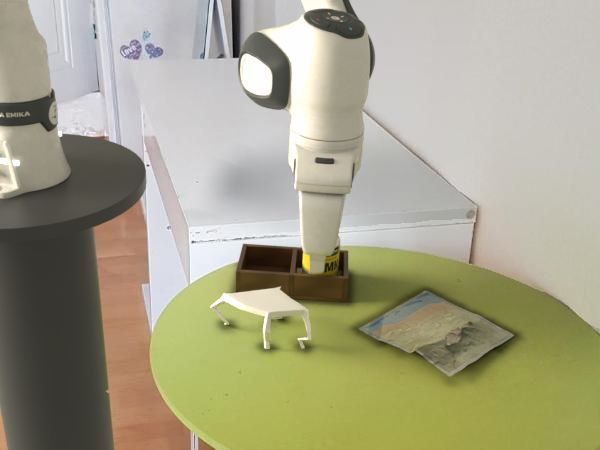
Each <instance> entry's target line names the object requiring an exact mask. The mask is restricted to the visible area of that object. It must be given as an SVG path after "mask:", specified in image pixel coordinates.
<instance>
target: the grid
mask: <svg viewBox="0 0 600 450" xmlns="http://www.w3.org/2000/svg"><path fill="white" fill-rule="evenodd" d="M302 262H303V250H302V246H301V247H299V246H288V245H287V246H285V245H270V244H269V245H268V244H256V243H255V244H254V243H242V246H241V250H240V253H239V258H238V262H237V265H236V270H235V293H238V292H246V291H255V290H263V289H271V288H277V287H281V288H280V290H281V291H282V292H284V293H285V294H286V295H287V296H289V297H290V298H291V299H293V300H306V301H307V300H308V301H320V302H321V301H322V302H337V303H338V302H339V303H347V302H348V301H347V300H348V291H349V250H347V249H346V250H345V249H340V253H339V264H338V276H331V275H316V274H302Z"/></svg>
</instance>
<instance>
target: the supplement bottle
mask: <svg viewBox="0 0 600 450" xmlns="http://www.w3.org/2000/svg"><path fill="white" fill-rule="evenodd" d="M339 233H340V231H339V232H338V237H337V242H336V246H335V249H334V252H333V254H332V255H331V256H326V258H325V265H324V271H323V272H322V273H312V272H311V271H310V270H309V267H310V255H308V254H305V253H304V252H303V262H302V274H316V275H331V276H338V264H339V253H340V250H341V238H340V236H339Z"/></svg>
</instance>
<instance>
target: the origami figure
mask: <svg viewBox="0 0 600 450" xmlns="http://www.w3.org/2000/svg"><path fill="white" fill-rule="evenodd" d="M280 288H281V287H277V288H271V289H263V290H255V291H246V292H238V293H236V292H232V293H228V292H223V294H222V296H221V297H220V298H219V299H217V300H216V301H215V302H213V303H212V304H211V305H210V309H211V310H212V311H213V312H214V313H215V314H216V316H217V317H218V318H219V319H220V320H221V321H222V322H223V323H224V326H229V325H230V322H229V321H228V320H227V319H226V318H225V316H224V315H223V313H221V311H220V310H219V309H218V307H220V306H222V305H224V304H229V305H231V306H233V307H235V308H237V309H239V310H241V311H244V312H247V313H251V314H255V315H258V316H262V317H264V319H263V327H262V336H263V348H264V349H265V350H270V347H271V345H270V336H271V325H272V324H271V322H272V320H282V319H284V318H283V317H295V316H301V318H302V321H303V323H304V326H305V330H306V335H307V337H298V338H297V340H298V343H299V345H300V348H301V349H306V347H305V344H304V342H303V341H312V339H313V336H312V327H311V321H310V311H309V309H308V308H307V307H305V306H304V305H303V304H301V303H299V302H297V301H296V300H295V299H291V298H290V297H289V296H287V295H286V294H285V293H284V292H282V291H281V290H280Z"/></svg>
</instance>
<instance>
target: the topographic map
mask: <svg viewBox="0 0 600 450" xmlns="http://www.w3.org/2000/svg"><path fill="white" fill-rule="evenodd" d="M358 330H360V331H361V332H362V333H364V334H366V335H367V336H369V337H371V338H372V339H374V340H376V341H379V342H383V343H386V344H389V345H391V346H393V347H396V348H398V349H400V350H402V351H404V352H406V353H409V354H411V353H414V352H416V353H418V354H419V355H421V356H422V357H423V358H424V359H425V360H426V361H427V362H428V363H430V364H431V365H433V367H435V368H436V369H437V370H439V371H440V372H442V374H445V375H446V376H448V377H450V378H451V377H453V376H455V375H456V374H457V373H459V372H461V371H462V370H463V369H465V368H466V367H467V366H468V365H470V364H472V363H474V362H476V361H478V360H479V359H480V358H482V357H483V356H485V354H487V353H488V352H489V351H491V350H493V349H494V348H497V347H498V346H500V345H502V344H504V343H506V342H507V341H509V340H510V339H512V338H513V337H514V336H515V334H513V333H511V332H510V331H508V330H506V329H504V328H502V327H500V326H499V325H496V324H495V323H493V322H492V321H490V320H488V319H486V318H485V317H483V316H481V315H480V314H476V313H475V312H471V311H469V310H467V309H464V308H463V307H460V306H459V305H456V304H453V303H452V302H450V301H448V300H446V299H445V298H442V297H440V296H438V295H436V294H435V293H432V292H430V291H428V290H424V291H422V292H420V293H419V294H416V295H415V296H413V297H411V298H410V299H408V300H406V301H405V302H403V303H401V304H398V305H397V306H396V307H393V308H392V309H390V310H389V311H387V312H385V313H384V314H382V315H380V316H378V317H376V318H375V319H372V320H371V321H370V322H368V323H365V324H364V325H363V326H361V327H358Z"/></svg>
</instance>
